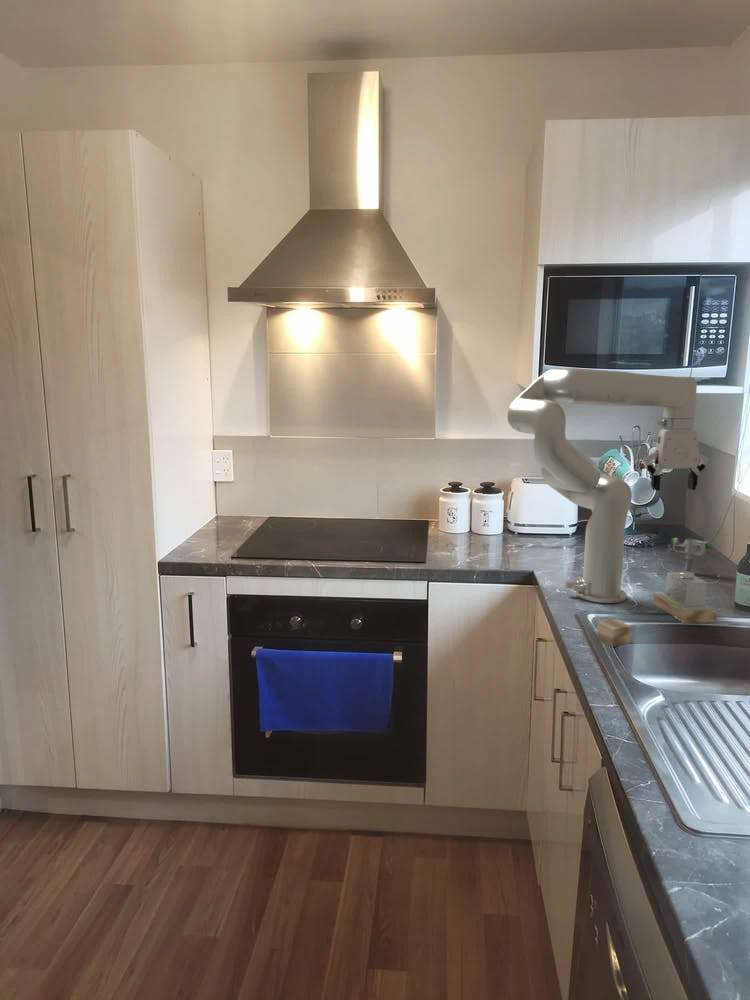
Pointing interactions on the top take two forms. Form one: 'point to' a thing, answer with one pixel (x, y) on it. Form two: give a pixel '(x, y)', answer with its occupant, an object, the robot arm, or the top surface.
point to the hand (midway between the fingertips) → (673, 489)
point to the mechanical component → (690, 549)
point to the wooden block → (685, 610)
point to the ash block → (614, 632)
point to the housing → (686, 589)
